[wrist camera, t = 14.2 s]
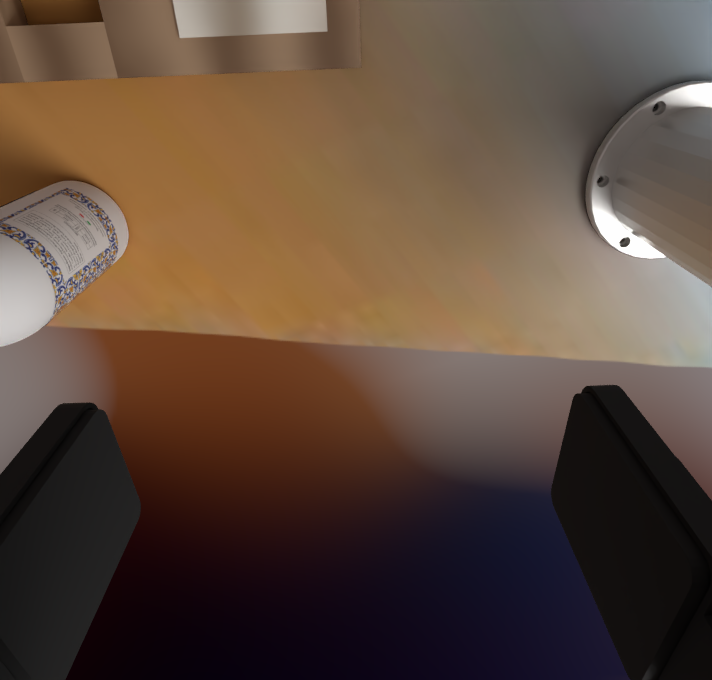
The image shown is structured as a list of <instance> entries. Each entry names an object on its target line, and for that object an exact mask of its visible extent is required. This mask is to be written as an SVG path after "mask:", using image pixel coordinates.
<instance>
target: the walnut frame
mask: <svg viewBox="0 0 712 680" xmlns="http://www.w3.org/2000/svg"><path fill="white" fill-rule="evenodd" d="M98 2H99V6H100V10H101V13H102V17H103V21H104V22H92V23H70V24H48V25H28V23H27V20H26V16H25V13H24V10H23V7H22V4H21V1H20V0H0V83H19V82H42V81H65V80H87V79H110V78H133V77H156V76H179V75H202V74H225V73H248V72H270V71H293V70H316V69H339V68H361V38H360V3H359V0H98Z"/></svg>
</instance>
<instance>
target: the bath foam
mask: <svg viewBox="0 0 712 680" xmlns="http://www.w3.org/2000/svg"><path fill="white" fill-rule="evenodd" d="M128 238H129V233H128V227H127V223H126V220H125V217H124V215H123V213H122V211H121V209H120V208H119V207H118V205H117V204H116V203H115V202H114V201H113V199H112V198H110V197H109V196H108V195H107V194H106V193H104V192H103V191H101V190H100V189H98V188H96V187H94V186H92V185H90V184H87V183H84V182H79V181H61V182H57V183H54V184H52V185H49V186H47V187H45V188H43V189H41V190H38V191H34V192H32V193H30V194H28V195H26V196H23V197H21V198H19V199H17V200H14V201H12V202H10V203H8V204H5V205H3V206H1V207H0V347H1V346H5V345H9V344H12V343H15V342H18V341H20V340H22V339H24V338H26V337H28V336H30V335H32V334H34V333H35V332H37V331H38V330H40V329H41V328H43V327H44V326H45V325H46V324H47V323H49V322H50V321H51V320H52V319H53V318H54V317H55V316H56V315H58V314H59V313H60V312H61V311H62V310H63V309H64V308H65V307H66V306H68V305H69V304H70V303H71V302H72V301H73V300H74V299H75V298H76V297H78V296H79V295H80V294H81V293H82V292H83V291H84V290H85V289H86V288H88V287H89V286H90V285H91V284H92V283H93V282H94V281H95V280H97V279H98V278H99V277H100V276H101V275H102V274H103V273H104V272H105V271H107V270H108V269H109V268H110V267H111V266H112V265H113V264H114V263H115V262H116V261H117V260H118V259H119V258H120V257H121V256H122V255H123V253H124V252H125V250H126V247H127V244H128Z"/></svg>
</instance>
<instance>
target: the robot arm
mask: <svg viewBox="0 0 712 680" xmlns="http://www.w3.org/2000/svg"><path fill="white" fill-rule="evenodd" d="M654 105H655V108H654V109H653V106H654ZM599 177H601V179H600V180H599V181H598V182H597V180H598V178H599ZM585 200H586V207H587V213H588V216H589V219H590V221H591V224H592V226H593V228H594V229H595V230H596V232H597V233H598V235H599V236H600V237H601V238H602V239H603V240H604V241H605V242H606V243H608V244H609V245H610V246H611V247H613V248H614V249H616V250H617V251H619V252H621V253H624V254H626V255H629V256H632V257H637V258H644V259H659V258H666V257H667V258H669V259H670V260H672V261H673V262H675V263H676V264H678V265H679V266H681V267H682V268H684V269H685V270H687V271H688V272H690V273H691V274H693V275H694V276H696V277H697V278H699V279H700V280H702V281H703V282H705V283H706V284H708V285H709V286H711V287H712V81H709V80H705V81H689V82H684V83H680V84H676V85H672V86H670V87H667V88H665V89H663V90H661V91H658V92H656V93H654V94H652V95H651V96H649V97H647V98H646V99H644V100H643V101H641V102H640V103H638V104H636V105H635V106H634V107H633V108H632V109H631V110H630V111H628V112H627V113H626V114H625V115H624V116H623V117H622V118H621V119H620V120H619V121H618V122H617V123H616V124H615V126H614V127H613V128H612V129H611V130H610V131H609V133H608V134H607V136H606V137H605V139H604V140H603V142H602V144H601V145H600V147H599V148H598V150H597V152H596V155H595V157H594V159H593V162H592V164H591V166H590V170H589V174H588V178H587V182H586V196H585ZM551 497H552V502H553V506H554V508H555V511H556V513H557V515H558V518H559V520H560V522H561V524H562V527H563V529H564V531H565V534H566V536H567V538H568V540H569V543H570V545H571V547H572V550H573V552H574V554H575V556H576V559H577V561H578V563H579V565H580V568H581V570H582V572H583V575H584V577H585V579H586V581H587V583H588V586H589V588H590V591H591V593H592V595H593V598H594V600H595V602H596V604H597V606H598V609H599V611H600V613H601V616H602V618H603V620H604V623H605V625H606V627H607V629H608V632H609V634H610V636H611V639H612V641H613V643H614V645H615V648H616V650H617V652H618V654H619V657H620V659H621V661H622V664H623V666H624V668H625V671H626V673H627V675H628V677H629V678H630V679H631V680H712V501H711V499H710V498H709V497H708V496H707V494H706V493H705V492H704V491H703V489H702V488H701V487H700V486H699V484H698V483H697V482H696V481H695V479H694V478H693V477H692V476H691V474H690V473H689V472H688V470H687V469H686V468H685V467H684V465H683V464H682V463H681V462H680V461H679V459H678V458H677V457H675V456H674V454H673V453H672V452H671V451H670V449H669V448H668V447H667V445H666V444H665V443H664V442H663V440H662V439H661V438H660V436H659V435H658V434H657V433H656V431H655V430H654V429H653V428H652V426H651V425H650V424H649V423H648V421H647V420H646V419H645V417H644V416H643V415H642V414H641V413H640V411H639V410H638V409H637V407H636V406H635V405H634V404H633V402H632V401H631V400H630V398H629V397H628V396H627V395H626V393H625V392H624V391H623V390H622V389H621V388H620V387H619V386H617V385H602V386H601V385H600V386H586V387H585V388H584V389H583V390H582V393H581V394H575V396H574V397H573V401H572V405H571V409H570V413H569V417H568V421H567V425H566V430H565V434H564V438H563V442H562V446H561V451H560V455H559V459H558V463H557V467H556V471H555V475H554V480H553V484H552V489H551ZM140 508H141V506H140V500H139V497H138V495H137V492H136V490H135V487H134V484H133V482H132V479H131V476H130V474H129V472H128V469H127V466H126V463H125V461H124V459H123V456H122V453H121V451H120V448H119V446H118V443H117V440H116V438H115V435H114V432H113V430H112V427H111V425H110V422H109V420H108V417H107V415H106V413H105V412H104V411H103V410H99V409H98V408H97V406H96V405H95V404H93V403H63V404H60V405H59V406H57V407H56V408H55V409H54V410H53V412H52V413H51V414H50V415H49V417H48V418H47V419H46V420H45V421H44V423H43V424H42V425H41V426H40V427H39V429H38V430H37V431H36V432H35V433H34V435H33V436H32V437H31V438H30V439H29V441H28V442H27V443H26V444H25V445H24V447H23V448H22V449H21V450H20V452H19V453H18V454H17V455H16V456H15V458H14V459H13V460H12V461H11V462H10V464H9V465H8V466H7V467H6V468H5V470H4V471H3V472H2V473H1V474H0V680H65V679H66V677H67V674H68V672H69V670H70V668H71V666H72V664H73V661H74V659H75V657H76V655H77V652H78V650H79V648H80V646H81V644H82V641H83V639H84V637H85V635H86V633H87V630H88V628H89V626H90V624H91V622H92V620H93V617H94V615H95V613H96V611H97V609H98V607H99V604H100V602H101V600H102V598H103V596H104V593H105V591H106V589H107V587H108V585H109V582H110V580H111V578H112V576H113V574H114V572H115V569H116V567H117V565H118V563H119V561H120V558H121V556H122V554H123V552H124V550H125V548H126V545H127V543H128V541H129V539H130V536H131V534H132V532H133V530H134V528H135V525H136V523H137V521H138V518H139V515H140Z"/></svg>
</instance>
